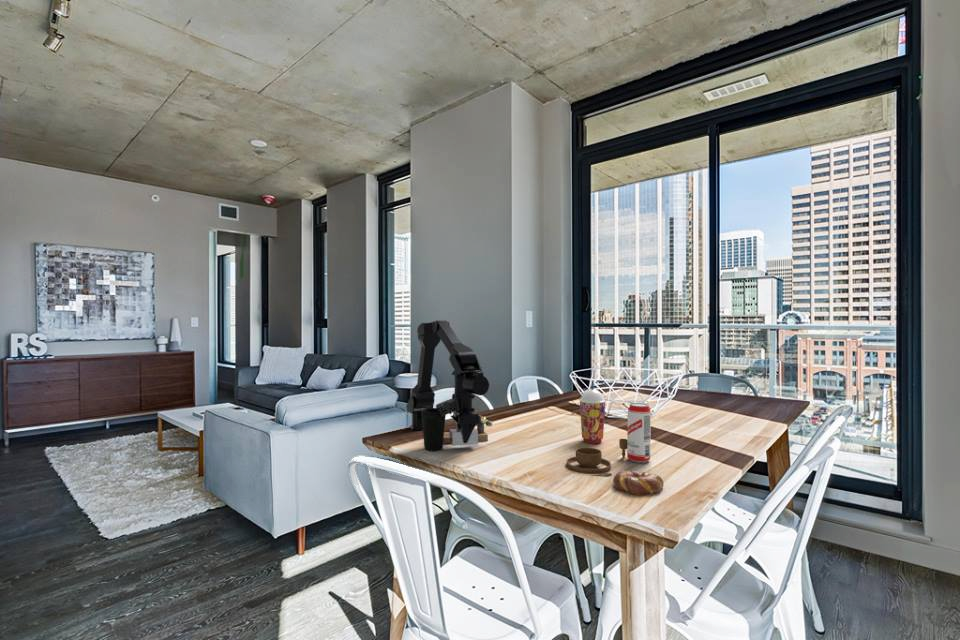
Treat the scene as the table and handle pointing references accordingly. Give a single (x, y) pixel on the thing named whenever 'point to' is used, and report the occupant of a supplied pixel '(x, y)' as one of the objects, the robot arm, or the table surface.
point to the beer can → (639, 432)
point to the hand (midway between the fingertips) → (463, 441)
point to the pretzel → (638, 482)
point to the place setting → (593, 459)
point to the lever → (486, 421)
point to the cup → (433, 429)
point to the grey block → (457, 438)
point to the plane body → (481, 434)
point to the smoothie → (592, 415)
